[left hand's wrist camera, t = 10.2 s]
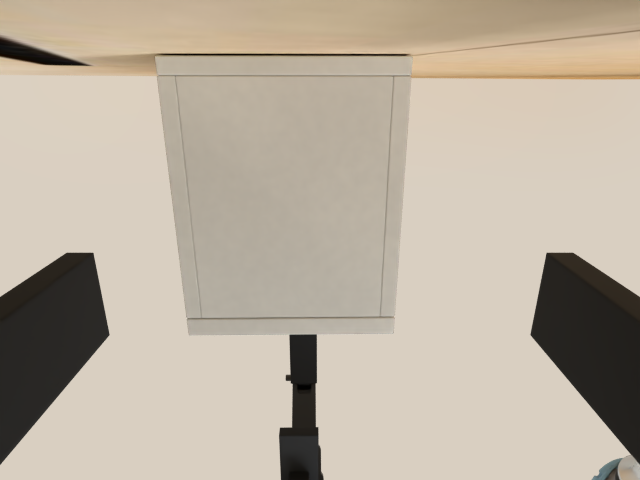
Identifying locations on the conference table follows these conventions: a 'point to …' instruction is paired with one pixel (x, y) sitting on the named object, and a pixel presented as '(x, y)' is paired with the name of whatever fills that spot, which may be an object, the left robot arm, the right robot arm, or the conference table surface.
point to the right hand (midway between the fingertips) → (301, 369)
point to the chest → (286, 181)
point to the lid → (291, 325)
